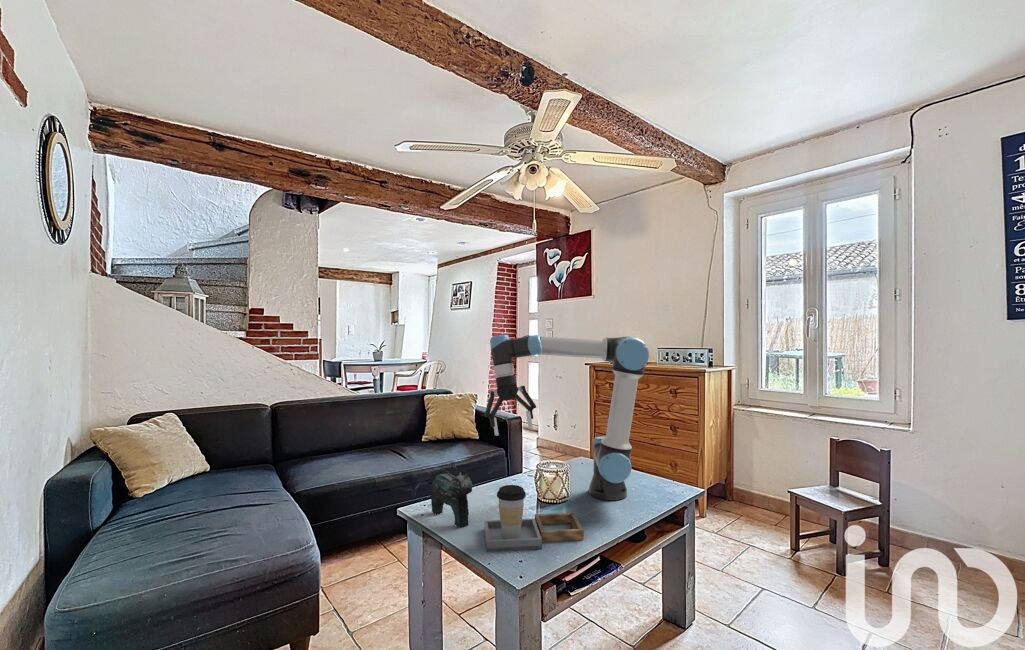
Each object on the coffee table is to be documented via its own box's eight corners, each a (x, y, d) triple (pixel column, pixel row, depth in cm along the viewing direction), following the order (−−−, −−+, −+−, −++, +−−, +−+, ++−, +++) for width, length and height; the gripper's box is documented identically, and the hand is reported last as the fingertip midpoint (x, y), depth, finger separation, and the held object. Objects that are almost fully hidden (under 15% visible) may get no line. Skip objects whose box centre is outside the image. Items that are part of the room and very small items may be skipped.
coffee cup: (500, 544, 142) (500, 495, 142) (493, 531, 151) (493, 485, 151) (529, 540, 145) (529, 492, 145) (520, 527, 154) (521, 482, 154)
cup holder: (573, 521, 161) (573, 512, 161) (583, 539, 147) (583, 530, 147) (534, 522, 160) (534, 514, 160) (541, 541, 146) (541, 532, 146)
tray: (534, 527, 156) (534, 518, 156) (541, 548, 141) (541, 539, 141) (484, 529, 154) (484, 520, 154) (486, 551, 140) (486, 541, 140)
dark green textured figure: (473, 526, 157) (474, 467, 157) (458, 532, 153) (458, 472, 153) (441, 508, 172) (441, 455, 171) (426, 513, 167) (426, 458, 167)
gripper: (531, 371, 183) (540, 425, 181) (471, 381, 175) (479, 437, 172) (538, 370, 176) (547, 425, 174) (475, 380, 168) (484, 439, 165)
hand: (513, 431), depth 173 cm, fingers open, 13 cm apart
